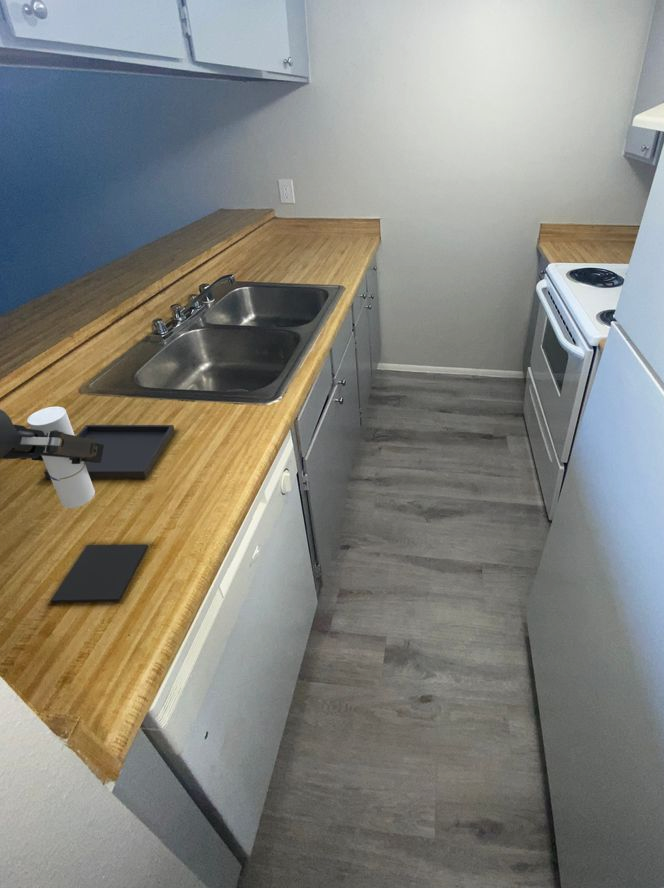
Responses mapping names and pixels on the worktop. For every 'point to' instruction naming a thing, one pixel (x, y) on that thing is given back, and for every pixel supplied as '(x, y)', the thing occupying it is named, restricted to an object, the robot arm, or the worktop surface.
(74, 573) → the mat
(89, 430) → the tray
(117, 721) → the worktop surface
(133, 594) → the worktop surface
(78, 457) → the robot arm
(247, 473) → the worktop surface
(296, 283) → the worktop surface
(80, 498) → the tube
